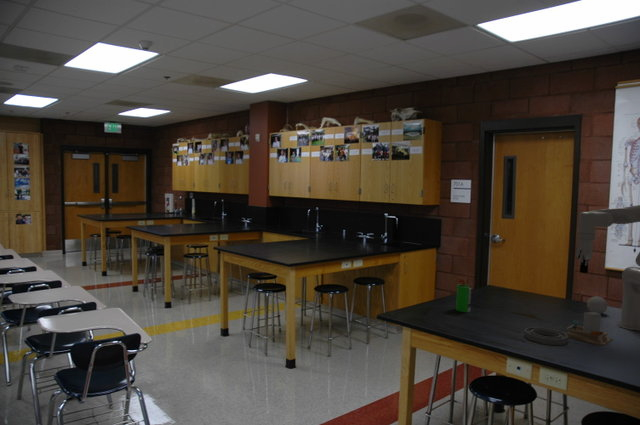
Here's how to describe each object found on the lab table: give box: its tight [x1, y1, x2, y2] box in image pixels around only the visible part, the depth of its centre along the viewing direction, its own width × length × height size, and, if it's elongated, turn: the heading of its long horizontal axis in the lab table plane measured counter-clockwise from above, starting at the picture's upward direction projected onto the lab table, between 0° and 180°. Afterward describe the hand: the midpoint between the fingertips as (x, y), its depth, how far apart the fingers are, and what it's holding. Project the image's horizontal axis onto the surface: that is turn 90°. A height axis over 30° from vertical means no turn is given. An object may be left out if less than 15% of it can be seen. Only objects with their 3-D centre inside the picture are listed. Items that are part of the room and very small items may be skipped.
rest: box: [564, 325, 613, 347], centre depth 224 cm, size 14×18×4 cm
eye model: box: [586, 295, 608, 315], centre depth 269 cm, size 10×10×10 cm
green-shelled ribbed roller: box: [455, 278, 472, 313], centre depth 267 cm, size 9×8×18 cm
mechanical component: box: [524, 326, 569, 346], centre depth 221 cm, size 18×18×3 cm
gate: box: [565, 320, 579, 334], centre depth 229 cm, size 12×2×4 cm, turn 133°
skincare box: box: [582, 311, 602, 336], centre depth 222 cm, size 6×4×12 cm
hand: (583, 272), depth 236 cm, fingers closed
